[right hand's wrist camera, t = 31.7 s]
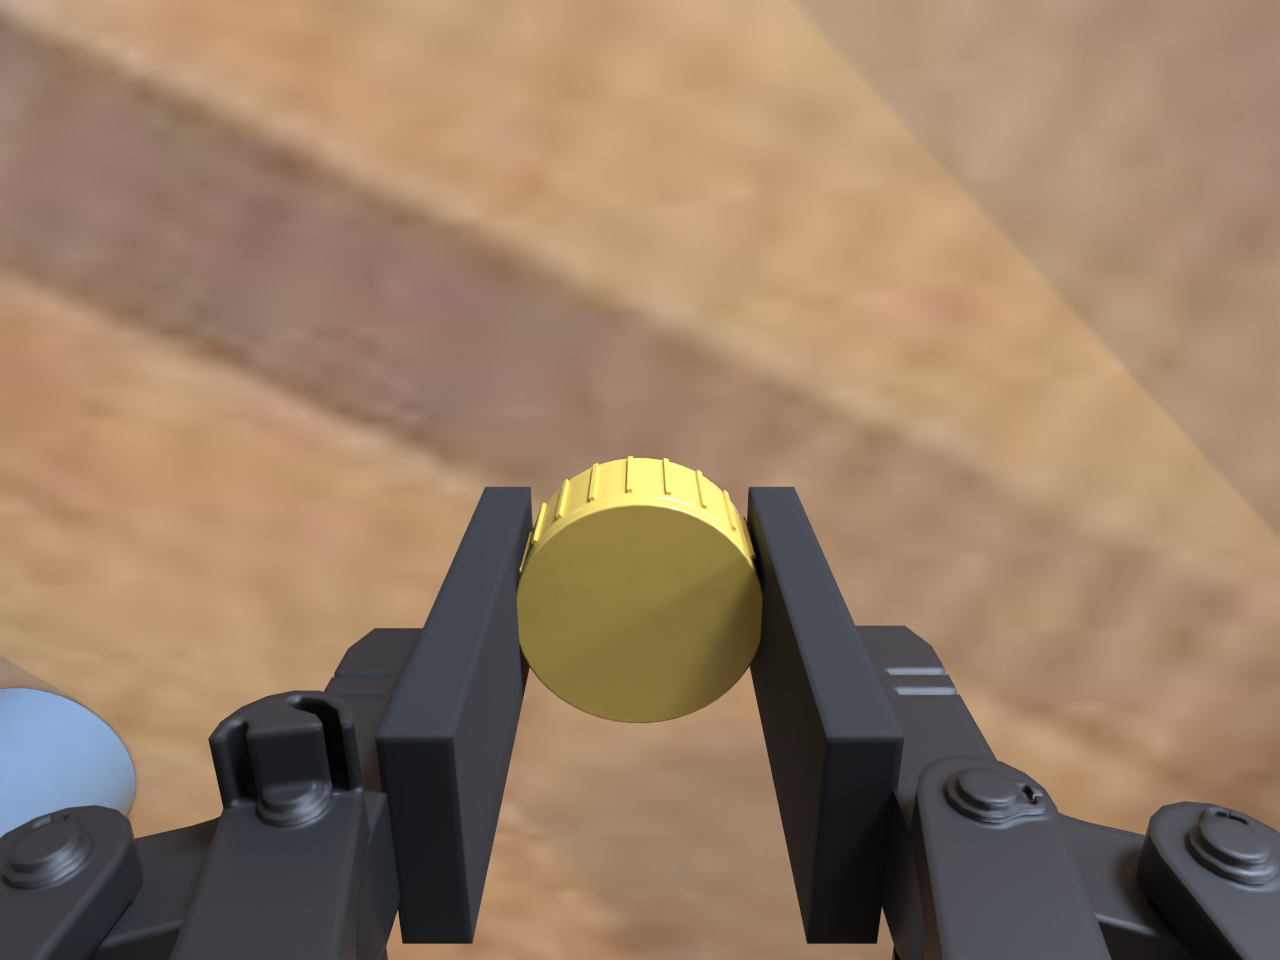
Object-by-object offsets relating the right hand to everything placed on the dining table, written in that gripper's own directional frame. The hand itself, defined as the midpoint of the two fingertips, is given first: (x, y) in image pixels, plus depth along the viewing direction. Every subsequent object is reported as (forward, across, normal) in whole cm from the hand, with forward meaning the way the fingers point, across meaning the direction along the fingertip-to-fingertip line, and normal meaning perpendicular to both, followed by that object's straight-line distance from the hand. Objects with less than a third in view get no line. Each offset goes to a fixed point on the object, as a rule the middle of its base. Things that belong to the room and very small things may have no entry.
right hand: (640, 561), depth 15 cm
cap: (-2, 0, 0) cm, 2 cm away
